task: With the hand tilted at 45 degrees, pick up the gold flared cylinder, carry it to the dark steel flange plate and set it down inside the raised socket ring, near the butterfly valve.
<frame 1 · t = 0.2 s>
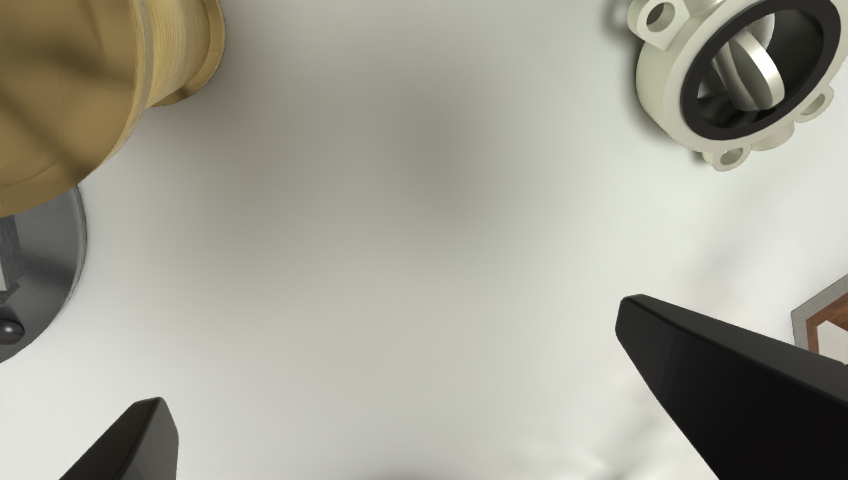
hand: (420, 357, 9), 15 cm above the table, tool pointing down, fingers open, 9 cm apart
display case: (844, 319, 40), on the table
gold flared cylinder: (139, 20, 17), on the table
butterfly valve: (671, 30, 24), on the table
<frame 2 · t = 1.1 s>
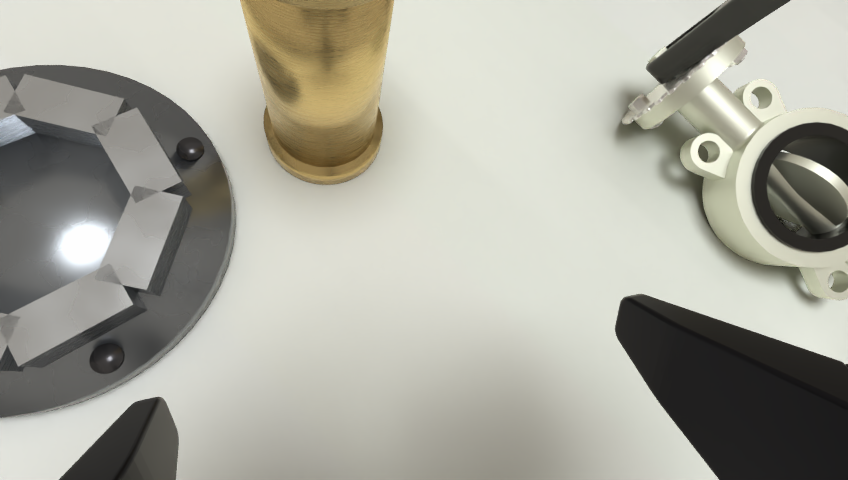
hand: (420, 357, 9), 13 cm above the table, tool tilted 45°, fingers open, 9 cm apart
gold flared cylinder: (325, 133, 24), on the table
flange: (48, 228, 21), on the table
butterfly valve: (722, 187, 29), on the table
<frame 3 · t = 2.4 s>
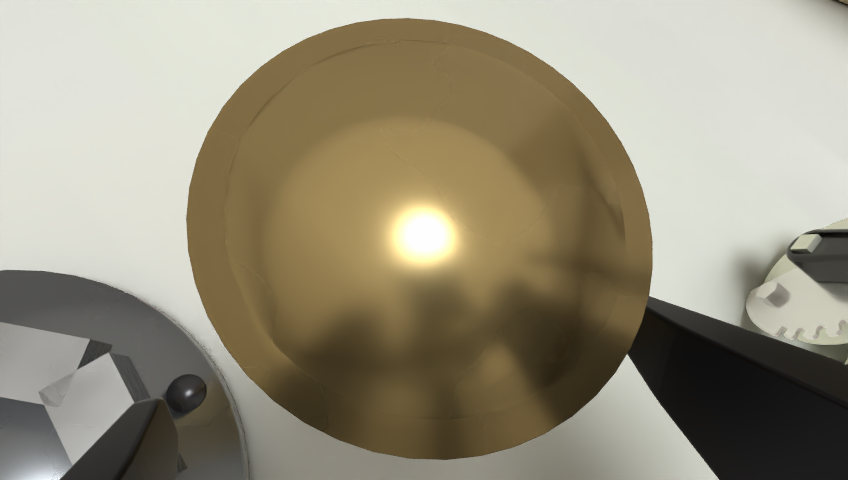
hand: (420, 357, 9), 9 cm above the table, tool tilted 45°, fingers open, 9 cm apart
gold flared cylinder: (372, 335, 18), on the table
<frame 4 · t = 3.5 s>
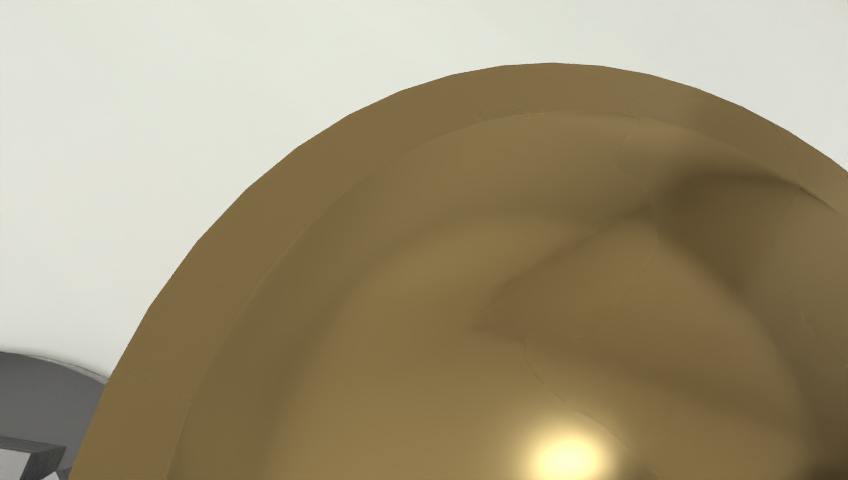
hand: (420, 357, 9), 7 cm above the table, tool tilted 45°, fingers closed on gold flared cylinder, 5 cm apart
gold flared cylinder: (394, 416, 15), on the table, touching gripper
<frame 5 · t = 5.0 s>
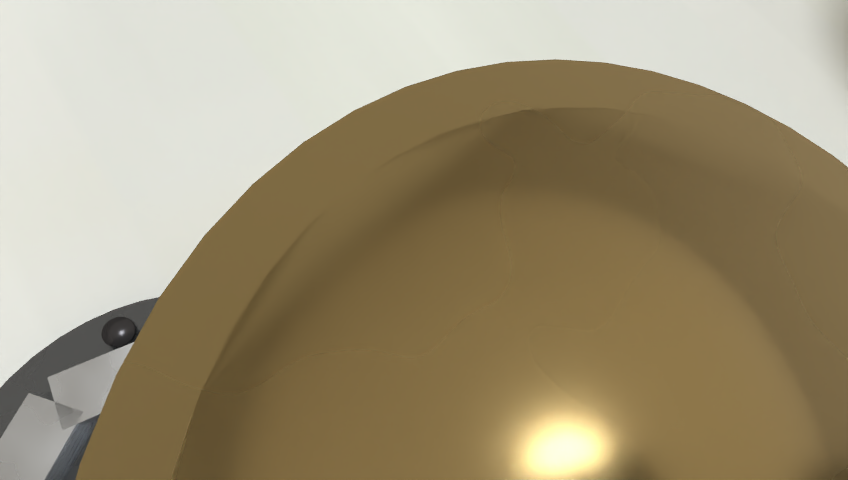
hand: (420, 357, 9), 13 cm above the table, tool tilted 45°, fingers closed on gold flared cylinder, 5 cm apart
gold flared cylinder: (395, 415, 15), point 6 cm above the table, touching gripper
when the fingers open (9 cm above the table, at t = 6.6 s): gold flared cylinder drops 1 cm, resting on flange.
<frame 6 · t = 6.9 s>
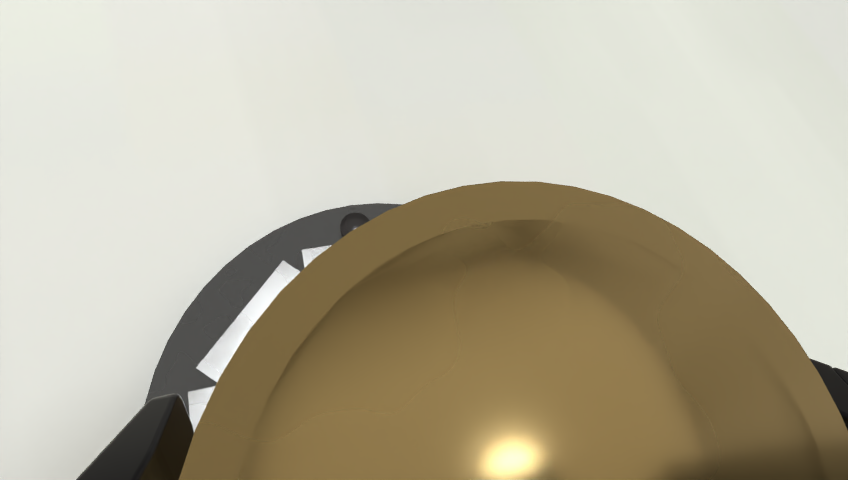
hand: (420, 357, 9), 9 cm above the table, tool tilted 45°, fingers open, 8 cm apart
gold flared cylinder: (390, 415, 16), point 1 cm above the table, touching flange
flange: (387, 412, 17), on the table
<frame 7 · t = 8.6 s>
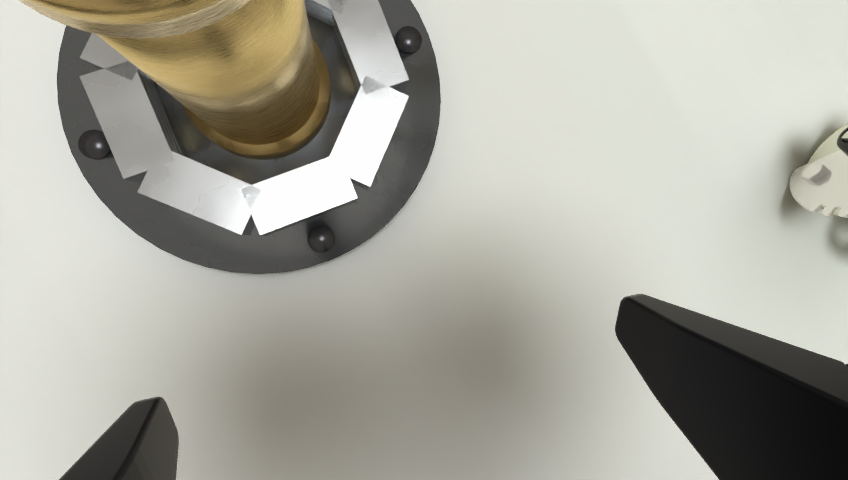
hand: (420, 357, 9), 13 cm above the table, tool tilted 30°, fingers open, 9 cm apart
gold flared cylinder: (261, 91, 20), point 1 cm above the table, touching flange
flange: (265, 97, 21), on the table
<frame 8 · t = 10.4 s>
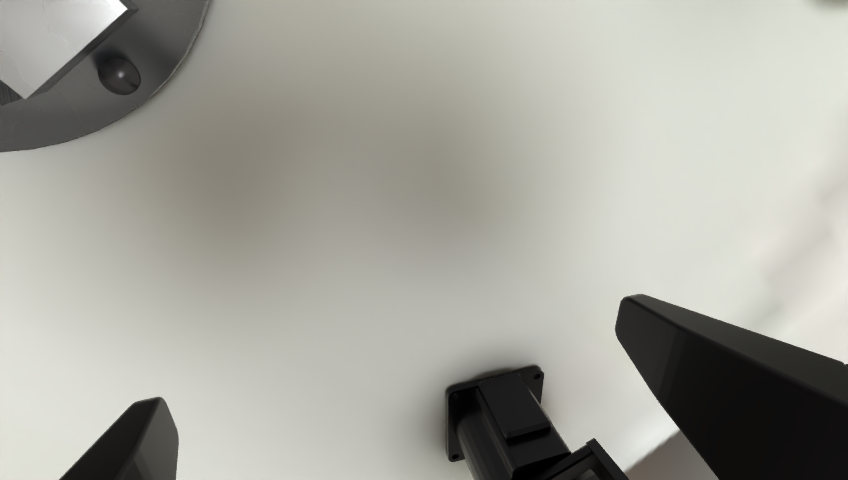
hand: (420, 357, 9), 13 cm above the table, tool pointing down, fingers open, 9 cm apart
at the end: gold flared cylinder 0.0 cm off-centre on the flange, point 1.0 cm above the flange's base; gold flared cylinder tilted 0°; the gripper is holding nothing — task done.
